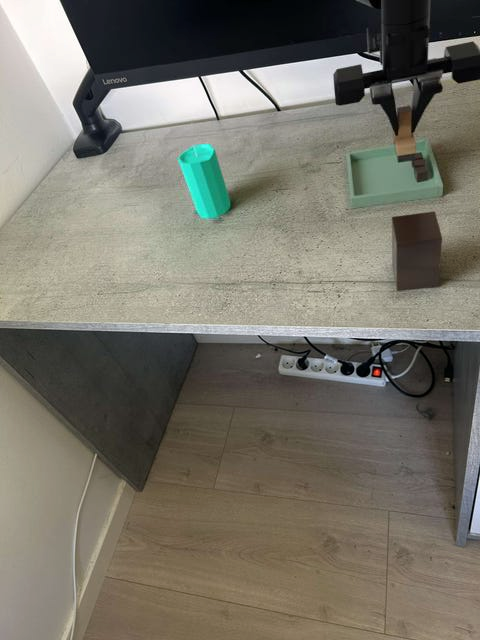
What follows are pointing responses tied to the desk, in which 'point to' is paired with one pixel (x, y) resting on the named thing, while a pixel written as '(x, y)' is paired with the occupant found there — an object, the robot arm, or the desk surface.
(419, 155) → the crumb
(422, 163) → the crumb
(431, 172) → the tray
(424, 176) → the crumb
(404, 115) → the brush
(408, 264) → the dark brown block
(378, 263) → the desk surface
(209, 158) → the candle
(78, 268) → the desk surface
